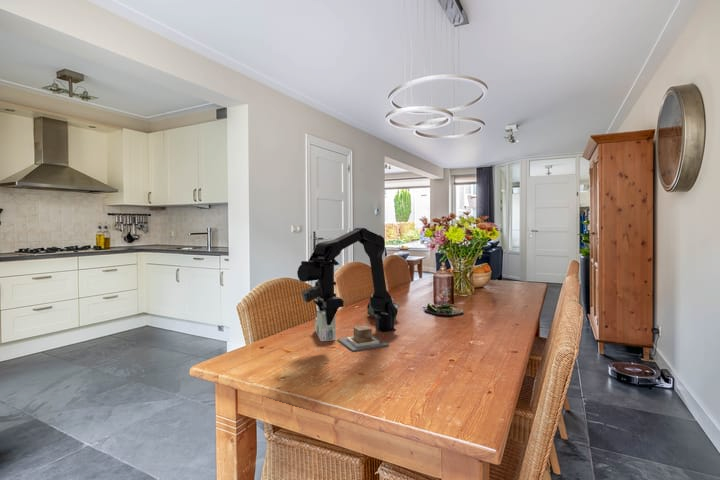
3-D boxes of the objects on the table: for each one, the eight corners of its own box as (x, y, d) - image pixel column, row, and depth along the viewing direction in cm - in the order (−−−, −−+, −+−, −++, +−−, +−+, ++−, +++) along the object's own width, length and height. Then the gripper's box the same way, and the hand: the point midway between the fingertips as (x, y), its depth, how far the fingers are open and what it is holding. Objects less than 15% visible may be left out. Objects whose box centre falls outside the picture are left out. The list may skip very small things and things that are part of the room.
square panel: (371, 335, 147) (371, 332, 147) (388, 346, 135) (388, 342, 134) (337, 340, 141) (337, 336, 141) (352, 351, 129) (352, 347, 129)
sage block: (330, 323, 135) (330, 309, 135) (335, 327, 130) (335, 312, 130) (317, 325, 133) (316, 311, 133) (321, 328, 128) (321, 314, 128)
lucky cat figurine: (399, 314, 182) (404, 291, 175) (391, 329, 172) (396, 306, 165) (371, 303, 187) (375, 280, 179) (361, 317, 177) (365, 294, 170)
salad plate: (445, 306, 200) (445, 298, 200) (472, 313, 185) (472, 304, 185) (417, 311, 189) (417, 302, 189) (443, 318, 174) (444, 308, 174)
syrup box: (328, 330, 155) (336, 340, 141) (314, 331, 153) (321, 342, 139) (328, 316, 155) (336, 325, 141) (314, 317, 153) (321, 326, 139)
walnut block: (365, 338, 141) (365, 325, 141) (371, 342, 137) (371, 328, 136) (353, 340, 139) (353, 327, 139) (359, 344, 135) (359, 330, 134)
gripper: (296, 276, 136) (296, 319, 137) (311, 284, 119) (312, 332, 120) (325, 275, 141) (325, 316, 141) (344, 281, 124) (344, 328, 124)
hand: (326, 323), depth 132 cm, fingers closed on sage block, 5 cm apart
